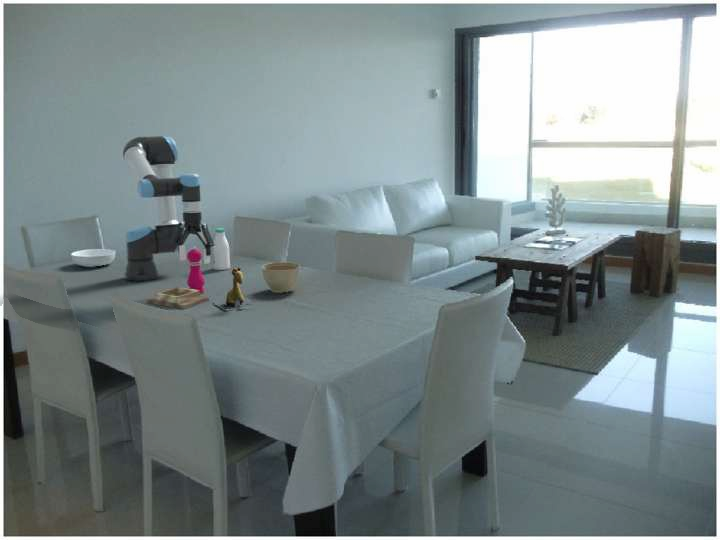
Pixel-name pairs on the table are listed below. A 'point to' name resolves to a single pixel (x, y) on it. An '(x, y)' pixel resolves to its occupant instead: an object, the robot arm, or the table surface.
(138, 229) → the robot arm
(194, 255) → the pepper mill
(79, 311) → the table surface
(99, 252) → the serving bowl
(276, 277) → the planter bowl
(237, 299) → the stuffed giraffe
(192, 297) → the holder board
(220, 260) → the milk bottle
